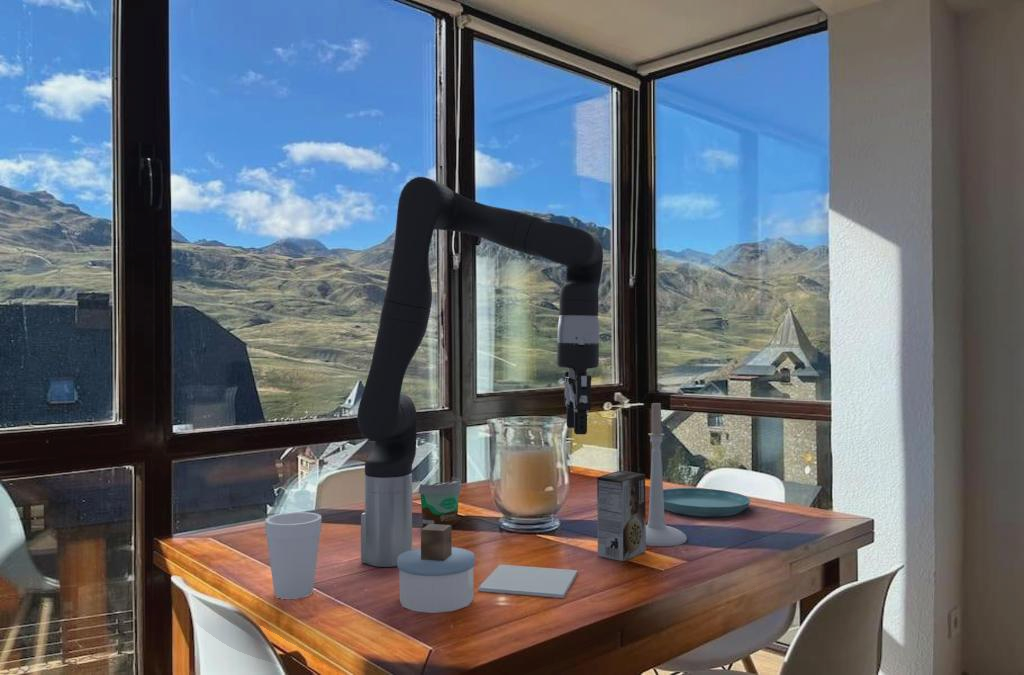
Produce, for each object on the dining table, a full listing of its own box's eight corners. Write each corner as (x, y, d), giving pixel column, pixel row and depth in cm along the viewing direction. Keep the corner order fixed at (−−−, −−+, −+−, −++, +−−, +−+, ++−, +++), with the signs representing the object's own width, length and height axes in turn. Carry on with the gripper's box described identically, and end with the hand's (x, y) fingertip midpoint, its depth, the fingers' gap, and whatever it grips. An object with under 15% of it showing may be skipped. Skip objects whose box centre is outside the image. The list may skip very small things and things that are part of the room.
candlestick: (630, 546, 163) (630, 403, 163) (623, 531, 176) (623, 399, 176) (692, 546, 163) (691, 403, 163) (680, 531, 175) (680, 398, 175)
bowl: (388, 608, 126) (388, 572, 126) (416, 585, 137) (416, 552, 137) (459, 615, 123) (458, 577, 123) (481, 591, 134) (481, 556, 134)
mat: (478, 591, 134) (478, 587, 134) (499, 567, 148) (499, 564, 148) (563, 598, 131) (563, 594, 131) (577, 573, 144) (577, 570, 144)
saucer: (750, 523, 184) (749, 509, 184) (647, 516, 191) (647, 502, 191) (751, 502, 207) (751, 490, 207) (659, 497, 214) (659, 485, 214)
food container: (438, 531, 176) (437, 487, 176) (418, 527, 179) (418, 484, 179) (473, 521, 186) (472, 479, 186) (453, 517, 189) (453, 476, 189)
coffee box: (619, 546, 163) (619, 469, 163) (646, 552, 159) (646, 473, 159) (596, 556, 156) (595, 476, 156) (623, 562, 152) (623, 479, 152)
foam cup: (327, 584, 138) (326, 512, 138) (315, 602, 129) (315, 524, 129) (273, 585, 138) (273, 512, 138) (258, 603, 129) (257, 525, 129)
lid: (384, 572, 125) (384, 534, 125) (414, 551, 138) (414, 516, 138) (461, 578, 122) (460, 539, 122) (484, 556, 135) (484, 520, 135)
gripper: (552, 340, 146) (550, 425, 146) (563, 341, 132) (561, 436, 132) (591, 340, 147) (589, 426, 147) (606, 342, 133) (604, 436, 133)
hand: (576, 430), depth 140 cm, fingers open, 8 cm apart
